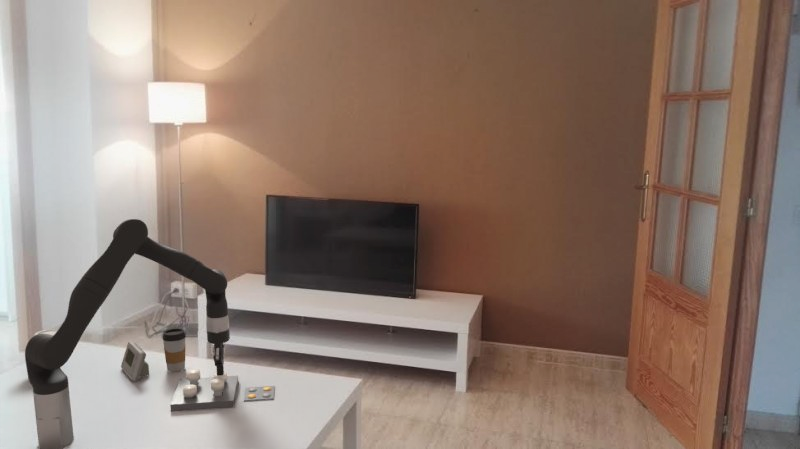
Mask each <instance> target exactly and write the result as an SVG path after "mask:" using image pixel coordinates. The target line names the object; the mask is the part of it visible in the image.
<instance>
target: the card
mask: <svg viewBox="0 0 800 449" xmlns="http://www.w3.org/2000/svg"><path fill="white" fill-rule="evenodd" d="M274 399H275V385H269V386H267V385H266V386H249V387H245V390H244V396H243V402H255V401H268V400H269V401H270V400H271V401H272V400H273V401H274Z"/></svg>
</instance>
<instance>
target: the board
mask: <svg viewBox="0 0 800 449" xmlns="http://www.w3.org/2000/svg"><path fill="white" fill-rule="evenodd" d="M213 379H214V376H211V377H210V376H207V377H200V379H199V380H198V386H197V394H196V395H195V397H194V398H186V397H185V396H183V387H184V386H186V385H190V381H188V380H187V378H180V379H179V382H178V384H177V387H176V390H175V391H174V394H173V397H172V399H171V402H170V404H169V405H170V406H169V407H170V412H188V411H201V410H202V411H203V410H204V411H205V410H216V409H229V408H231V409H232V408H235V403H236V397H237V392H238V391H237V390H238V386H239V375H227V382H225V385H224V389H222V396H214V391H213V390H211V381H212V380H213Z"/></svg>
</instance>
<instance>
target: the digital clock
mask: <svg viewBox="0 0 800 449" xmlns="http://www.w3.org/2000/svg"><path fill="white" fill-rule="evenodd" d="M146 357H147V353H146V352H145V351H144V350H143V349H142V347H141V346H139V344H138V343H137V342H135V341H134V340H130V341H128V343H127V345H126V348H125V351H124V355H123V358H122V361H121V365H120V368H121V370H123V371H124V373H125V374H126V375H127V376H128V377H129V378H130V379H131V381H133V382H137V381H139V379H140V378H143V377H146V376H147V375H148V376H150V368H149V367H150V365H149V363H148V362H147V361H146V360H145V359H146Z"/></svg>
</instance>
